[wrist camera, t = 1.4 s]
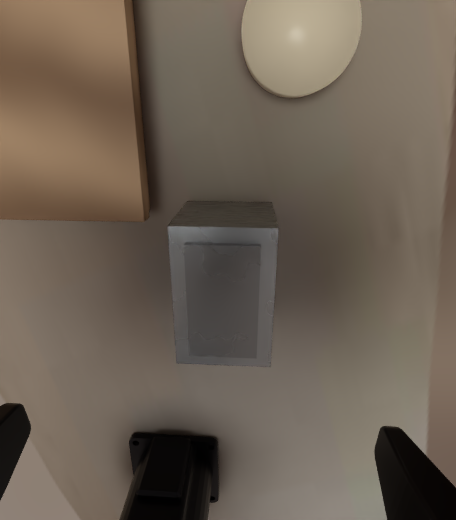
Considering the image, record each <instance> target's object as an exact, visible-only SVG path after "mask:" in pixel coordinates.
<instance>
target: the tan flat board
mask: <svg viewBox="0 0 456 520" xmlns="http://www.w3.org/2000/svg"><path fill="white" fill-rule="evenodd" d="M149 210H150V203H149V191H148V179H147V167H146V155H145V143H144V132H143V120H142V108H141V96H140V84H139V72H138V61H137V49H136V37H135V25H134V13H133V1H132V0H0V219H11V220H67V221H122V222H145V221H146V220H147V219H148V218H149Z"/></svg>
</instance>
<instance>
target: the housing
mask: <svg viewBox="0 0 456 520" xmlns="http://www.w3.org/2000/svg"><path fill="white" fill-rule="evenodd" d="M278 230H279V228H278V224H277V221H276V217H275V213H274V209H273V206H272V202H217V201H187V202H186V203H185V205H184V206H183V207H182V208H181V210H180V211H179V212H178V214H177V215H176V216H175V217H174V219H173V220H172V221H171V223H170V224H169V225H168V241H169V256H170V271H171V286H172V301H173V316H174V331H175V346H176V361H177V363H182V364H207V365H232V366H257V367H271V350H272V332H273V315H274V298H275V281H276V264H277V247H278Z"/></svg>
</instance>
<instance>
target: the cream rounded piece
mask: <svg viewBox="0 0 456 520" xmlns="http://www.w3.org/2000/svg"><path fill="white" fill-rule="evenodd" d="M361 27H362V10H361V4H360V0H247V3H246V6H245V9H244V13H243V19H242V28H241V34H242V46H243V53H244V58H245V62H246V65H247V67H248V70H249V72H250V73H251V75H252V77H253V78H254V79H255V81H256V82H257V83H258V84H259V85H260V86H261V87H262V88H263V89H265V90H266V91H268V92H269V93H271V94H273V95H276V96H279V97H283V98H299V97H304V96H307V95H310V94H312V93H314V92H316V91H319V90H320V89H322V88H324V87H326V86H328V85H329V84H330V83H332V82H333V81H334V80H335V79H336V78H338V77H339V76H340V74H341V73H342V72H343V71H344V70H345V68H346V67H347V66H348V64H349V63H350V61H351V59H352V57H353V55H354V53H355V51H356V48H357V46H358V42H359V39H360V34H361Z"/></svg>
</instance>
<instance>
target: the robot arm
mask: <svg viewBox="0 0 456 520" xmlns="http://www.w3.org/2000/svg"><path fill="white" fill-rule="evenodd" d="M30 431H31V424H30V421H29V419H28V416H27V414H26V411H25V408H24V406H23V405H22V404H17V403H6V404H3V405H1V406H0V500H1V498H2V496H3V494H4V492H5V489H6V487H7V485H8V483H9V481H10V478H11V476H12V474H13V471H14V469H15V467H16V464H17V462H18V460H19V458H20V455H21V453H22V451H23V448H24V446H25V444H26V442H27V439H28V437H29V434H30ZM129 446H130V453H131V460H132V467H133V474H134V477H133V480H132V483H131V486H130V489H129V492H128V495H127V499H126V502H125V505H124V508H123V511H122V514H121V517H120V520H208V513H209V503H210V502H211V503H213V502H217V501H218V497H219V472H218V441H217V440H216V439H215V438H212V437H194V436H175V435H156V434H138V433H136V434H133V435H132V436H131V438H130V440H129ZM375 461H376V466H377V471H378V476H379V481H380V486H381V491H382V496H383V501H384V506H385V511H386V516H387V520H456V488H455V486H454V485H453V484H452V483H451V482H450V481H449V480H448V479H447V478H446V477H445V476H444V474H443V473H442V472H441V471H440V470H439V469H438V468H437V467H436V466H435V465H434V464H433V463H432V462H431V460H430V459H429V458H428V457H427V456H426V455H425V454H424V453H423V452H422V451H421V450H420V449H419V447H418V446H417V445H416V444H415V443H414V442H413V441H412V440H411V439H410V438H409V437H408V436H407V434H406V433H405V432H404V431H403V430H402V429H400V428H399V427H391V426H382V427H381V428H380V431H379V434H378V438H377V442H376V445H375Z"/></svg>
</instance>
